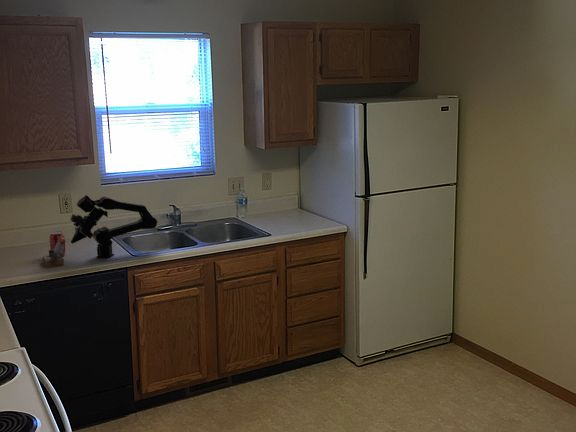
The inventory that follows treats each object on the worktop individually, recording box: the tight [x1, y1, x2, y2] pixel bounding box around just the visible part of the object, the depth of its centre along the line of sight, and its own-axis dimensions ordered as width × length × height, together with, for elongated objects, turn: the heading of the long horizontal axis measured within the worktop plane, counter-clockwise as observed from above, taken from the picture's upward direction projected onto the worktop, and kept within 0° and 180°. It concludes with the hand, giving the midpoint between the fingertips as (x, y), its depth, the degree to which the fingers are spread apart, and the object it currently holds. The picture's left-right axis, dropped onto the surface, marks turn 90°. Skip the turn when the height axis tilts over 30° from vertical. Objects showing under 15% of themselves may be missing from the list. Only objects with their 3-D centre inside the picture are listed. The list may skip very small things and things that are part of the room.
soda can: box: [49, 230, 67, 257], centre depth 322 cm, size 7×7×12 cm
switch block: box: [42, 249, 65, 268], centre depth 309 cm, size 8×10×6 cm
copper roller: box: [52, 237, 66, 256], centre depth 309 cm, size 2×6×10 cm, turn 30°
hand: (71, 243), depth 312 cm, fingers closed
